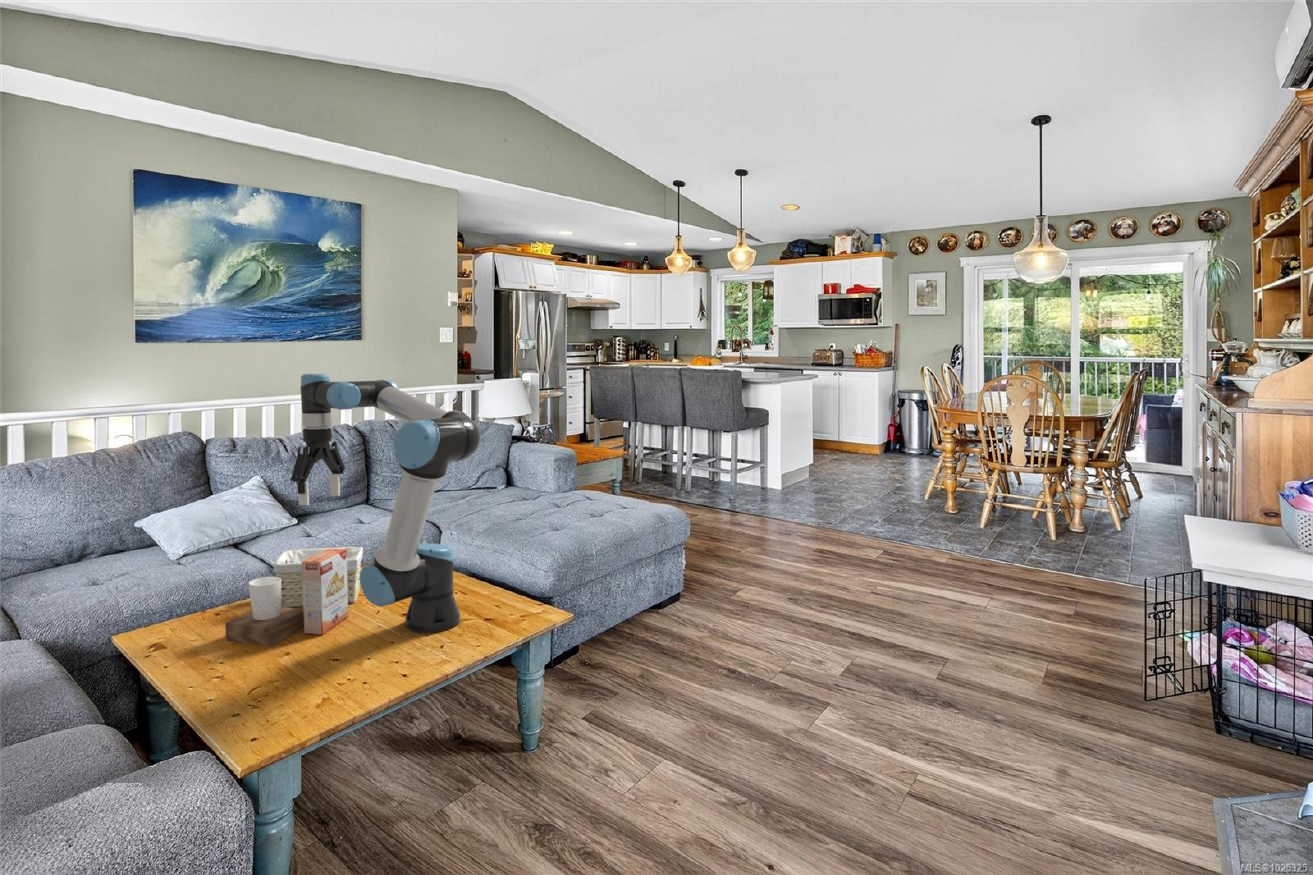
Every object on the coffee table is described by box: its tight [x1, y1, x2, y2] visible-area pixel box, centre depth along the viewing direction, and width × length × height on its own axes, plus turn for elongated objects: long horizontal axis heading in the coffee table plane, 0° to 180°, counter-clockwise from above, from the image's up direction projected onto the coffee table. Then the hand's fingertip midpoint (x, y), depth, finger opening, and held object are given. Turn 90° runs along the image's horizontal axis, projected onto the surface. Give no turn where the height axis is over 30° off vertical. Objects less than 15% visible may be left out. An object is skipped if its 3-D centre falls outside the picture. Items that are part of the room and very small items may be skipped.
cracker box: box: [302, 547, 349, 636], centre depth 202 cm, size 14×6×21 cm, turn 175°
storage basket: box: [273, 546, 364, 608], centre depth 224 cm, size 24×16×15 cm
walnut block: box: [224, 607, 304, 647], centre depth 197 cm, size 14×14×5 cm
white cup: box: [248, 576, 281, 620], centre depth 196 cm, size 8×8×10 cm
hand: (320, 500), depth 208 cm, fingers open, 13 cm apart
